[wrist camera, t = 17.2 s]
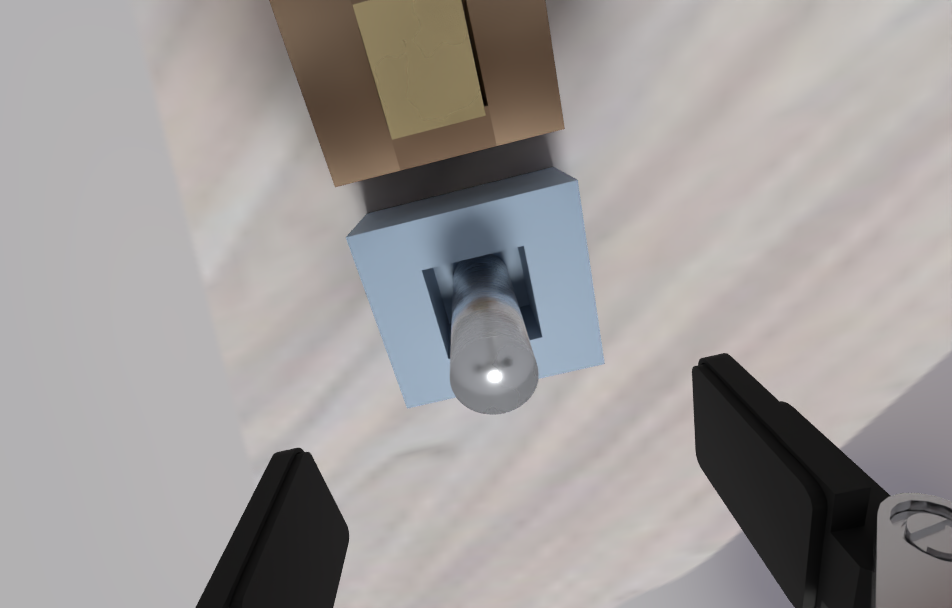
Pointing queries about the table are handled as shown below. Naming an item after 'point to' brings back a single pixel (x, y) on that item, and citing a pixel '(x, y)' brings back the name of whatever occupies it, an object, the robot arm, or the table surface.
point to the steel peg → (489, 339)
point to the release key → (420, 63)
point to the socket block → (358, 103)
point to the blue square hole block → (468, 236)
